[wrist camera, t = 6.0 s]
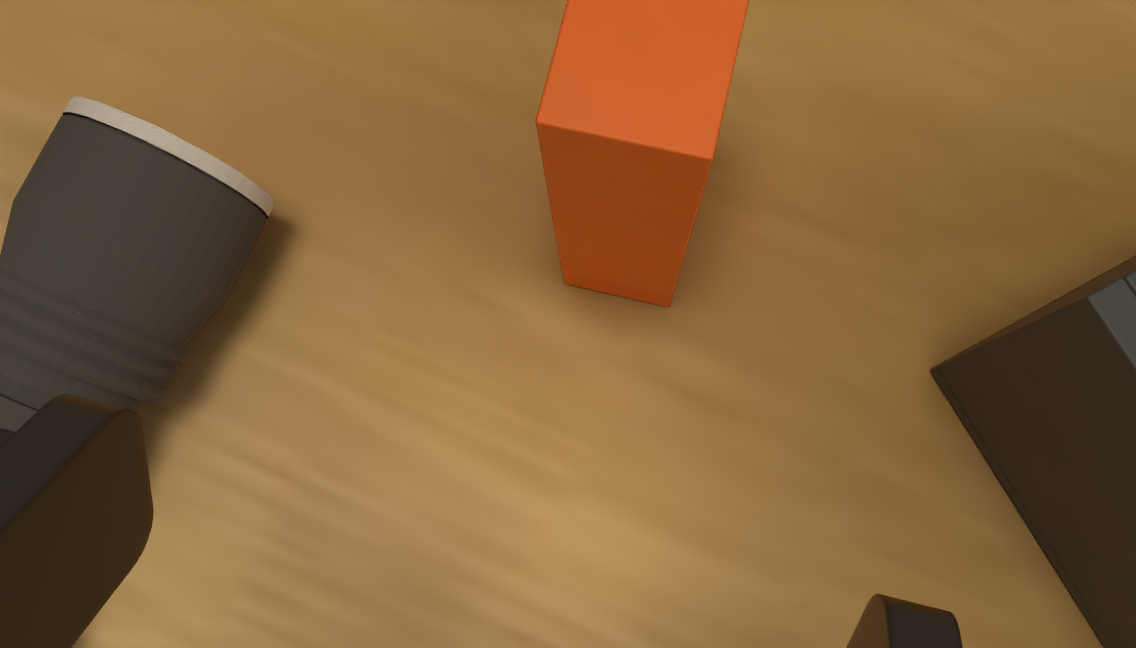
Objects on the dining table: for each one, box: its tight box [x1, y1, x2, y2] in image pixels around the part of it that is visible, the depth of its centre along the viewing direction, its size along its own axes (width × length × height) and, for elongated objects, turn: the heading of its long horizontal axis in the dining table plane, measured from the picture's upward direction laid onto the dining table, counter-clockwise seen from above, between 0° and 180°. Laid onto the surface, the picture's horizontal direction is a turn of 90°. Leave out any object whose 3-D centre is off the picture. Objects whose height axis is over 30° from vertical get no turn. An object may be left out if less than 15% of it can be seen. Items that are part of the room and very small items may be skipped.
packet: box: [536, 0, 749, 307], centre depth 22 cm, size 5×3×11 cm, turn 166°
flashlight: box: [0, 97, 275, 432], centre depth 24 cm, size 15×5×5 cm, turn 156°
